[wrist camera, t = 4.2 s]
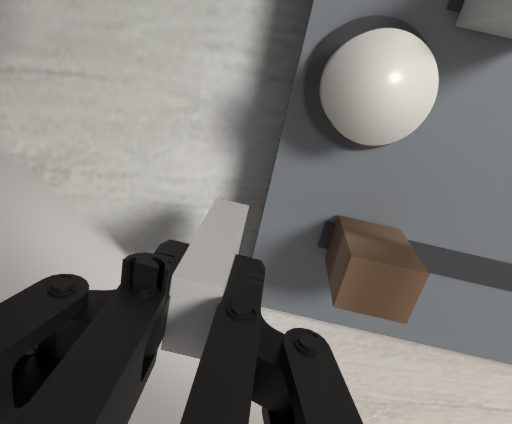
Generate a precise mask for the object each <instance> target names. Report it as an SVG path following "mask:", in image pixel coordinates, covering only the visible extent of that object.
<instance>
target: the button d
mask: <svg viewBox="0 0 512 424" xmlns="http://www.w3.org/2000/svg"><path fill="white" fill-rule="evenodd" d="M438 84H439V75H438V68H437V64H436V61H435V58H434V56H433V54H432V52H431V51H430V49H429V48H428V47H427V45H426V44H425V43H424V42H423V41H422V40H421V39H419V38H418V37H417V36H415V35H413V34H411V33H409V32H407V31H404V30H401V29H395V28H380V29H375V30H371V31H368V32H365V33H363V34H361V35H358V36H356V37H354V38H351V39H350V40H348V41H346V42H345V43H343V44H342V45H341V46H340V47H339V48H338V49H337V50H336V51H335V52H334V53H333V54H332V55H331V57H330V58H329V60H328V61H327V63H326V65H325V67H324V69H323V72H322V75H321V80H320V89H319V90H320V100H321V104H322V107H323V109H324V112H325V114H326V115H327V117H328V118H329V120H330V121H331V123H332V124H333V125H334V127H335V128H336V129H337V130H338V131H339V132H340V133H341V134H342V135H343V136H345V137H346V138H348V139H349V140H352V141H354V142H356V143H360V144H363V145H371V146H378V145H385V144H390V143H393V142H396V141H398V140H400V139H402V138H404V137H406V136H407V135H409V134H411V133H412V132H413V131H414V130H415V129H417V128H418V127H419V126H420V125H421V124H422V122H423V121H424V120H425V119H426V117H427V116H428V114H429V113H430V111H431V109H432V107H433V105H434V102H435V99H436V96H437V92H438Z"/></svg>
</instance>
